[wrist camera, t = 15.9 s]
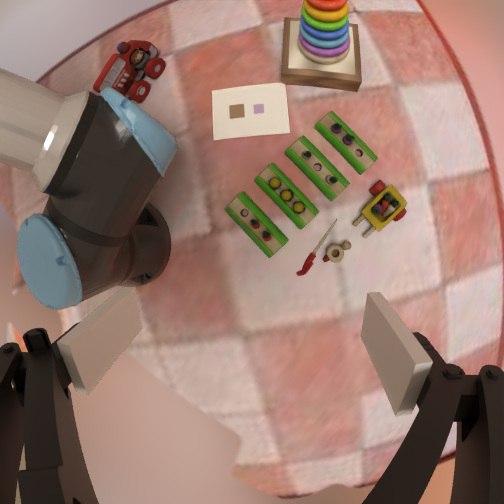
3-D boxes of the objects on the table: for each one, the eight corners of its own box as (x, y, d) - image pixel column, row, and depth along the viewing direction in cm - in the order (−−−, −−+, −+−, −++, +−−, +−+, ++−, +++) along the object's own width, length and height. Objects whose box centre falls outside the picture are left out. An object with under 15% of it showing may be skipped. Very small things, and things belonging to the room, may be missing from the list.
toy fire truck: (173, 56, 42) (148, 30, 31) (138, 111, 44) (105, 94, 34) (148, 49, 42) (121, 25, 32) (114, 101, 45) (81, 85, 34)
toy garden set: (330, 112, 40) (333, 102, 35) (411, 202, 40) (422, 201, 35) (226, 209, 45) (218, 209, 40) (308, 298, 45) (309, 307, 40)
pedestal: (282, 84, 40) (281, 73, 36) (285, 29, 38) (284, 16, 34) (356, 91, 38) (362, 81, 34) (354, 36, 36) (357, 23, 32)
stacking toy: (321, 20, 33) (325, -60, 14) (359, 49, 33) (385, -28, 15) (286, 43, 34) (275, -39, 16) (324, 74, 35) (337, -6, 16)
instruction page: (214, 140, 43) (213, 140, 43) (212, 91, 42) (211, 90, 41) (289, 133, 41) (289, 132, 41) (284, 82, 40) (284, 82, 39)
